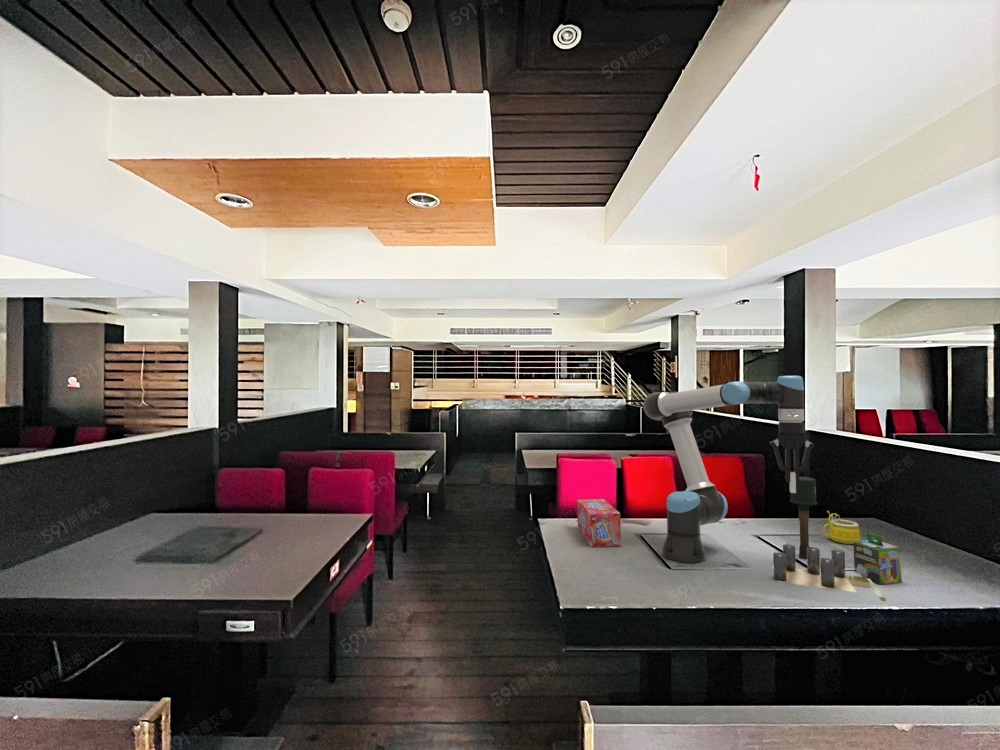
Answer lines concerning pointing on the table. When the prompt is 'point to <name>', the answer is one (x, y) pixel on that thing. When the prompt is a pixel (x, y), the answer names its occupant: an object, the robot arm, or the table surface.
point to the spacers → (810, 564)
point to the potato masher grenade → (804, 509)
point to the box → (599, 523)
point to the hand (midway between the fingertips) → (792, 492)
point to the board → (815, 581)
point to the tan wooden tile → (859, 581)
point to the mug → (842, 530)
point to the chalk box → (877, 560)
